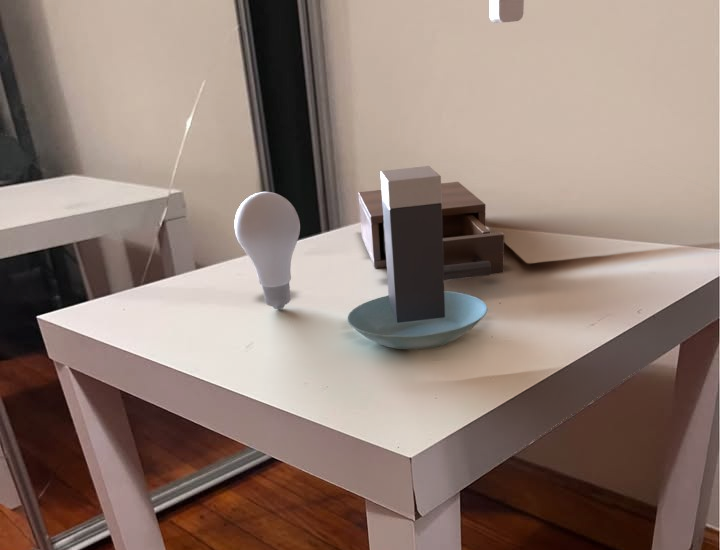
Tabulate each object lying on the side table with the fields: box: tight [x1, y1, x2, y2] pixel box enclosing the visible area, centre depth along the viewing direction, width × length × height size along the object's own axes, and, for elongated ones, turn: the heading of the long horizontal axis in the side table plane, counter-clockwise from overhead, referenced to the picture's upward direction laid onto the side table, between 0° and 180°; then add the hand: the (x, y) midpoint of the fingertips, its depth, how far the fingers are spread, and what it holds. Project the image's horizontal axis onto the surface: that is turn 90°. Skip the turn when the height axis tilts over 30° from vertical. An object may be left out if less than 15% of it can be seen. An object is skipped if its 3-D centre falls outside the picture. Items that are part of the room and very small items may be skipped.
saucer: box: [346, 290, 488, 351], centre depth 65 cm, size 12×12×2 cm
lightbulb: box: [233, 191, 301, 310], centre depth 73 cm, size 6×6×11 cm
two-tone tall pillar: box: [379, 165, 445, 323], centre depth 62 cm, size 4×5×11 cm
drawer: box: [380, 213, 505, 282], centre depth 80 cm, size 17×11×4 cm, turn 6°
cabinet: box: [357, 181, 486, 269], centre depth 91 cm, size 15×13×6 cm
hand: (505, 22), depth 57 cm, fingers closed
